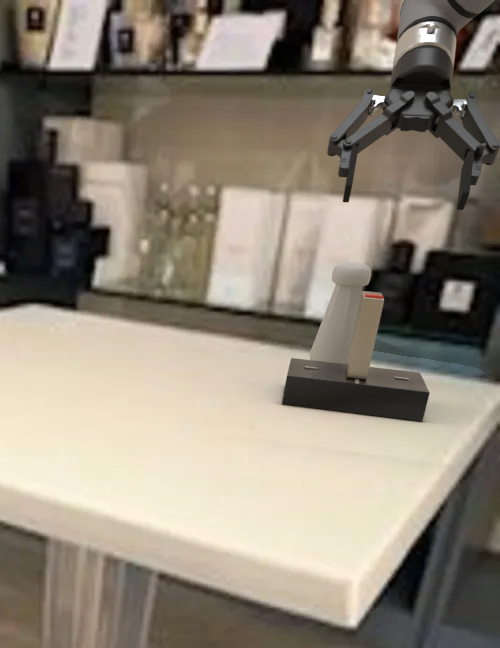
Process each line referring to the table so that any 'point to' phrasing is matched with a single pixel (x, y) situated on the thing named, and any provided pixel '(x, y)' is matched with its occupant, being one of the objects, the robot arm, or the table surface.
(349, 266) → the salt shaker
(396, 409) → the rectangular base
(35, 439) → the table surface
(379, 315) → the beige rectangular block
